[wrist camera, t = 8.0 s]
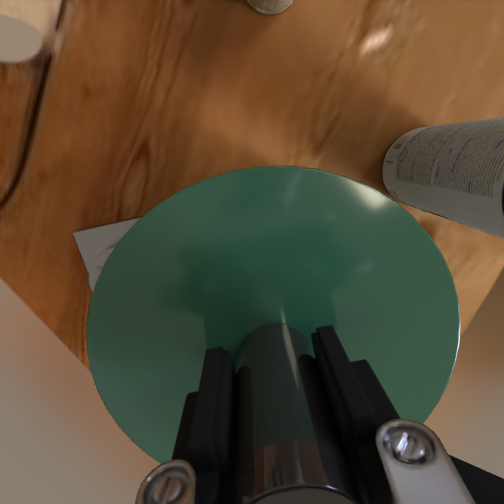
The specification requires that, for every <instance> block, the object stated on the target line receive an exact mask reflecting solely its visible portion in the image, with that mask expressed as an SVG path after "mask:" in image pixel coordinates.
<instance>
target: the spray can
mask: <svg viewBox="0 0 504 504" xmlns="http://www.w3.org/2000/svg"><path fill="white" fill-rule="evenodd" d="M382 173H383V182H384V185H385V186H386V188H387V190H388V191H389V193H390V194H391V195H392V196H393V197H394V198H395V199H396V200H398V201H400V202H401V203H404V204H406V205H409V206H412V207H415V208H417V209H420V210H422V211H425V212H429V213H432V214H435V215H438V216H441V217H443V218H446V219H449V220H452V221H455V222H457V223H460V224H463V225H466V226H469V227H471V228H474V229H477V230H480V231H483V232H485V233H488V234H491V235H494V236H497V237H499V238H502V239H504V117H503V118H494V119H486V120H478V121H470V122H462V123H453V124H446V125H437V126H428V127H421V128H417V129H414V130H411V131H409V132H407V133H405V134H404V135H402V136H401V137H400V138H399V139H397V140H396V141H395V142H394V143H393V144H392V146H391V147H390V148H389V150H388V151H387V153H386V156H385V159H384V163H383V169H382Z"/></svg>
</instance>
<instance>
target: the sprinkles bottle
mask: <svg viewBox="0 0 504 504" xmlns="http://www.w3.org/2000/svg"><path fill="white" fill-rule="evenodd" d="M293 1H294V0H247V2H248V4H249V5H250V6H252V7H253V8H254V9H255V10H257V11H258V12H260V13H263V14H277V13H280V12H283V11H284V10H285V9H286V8H288V7H289V6H290V5H291V4H292V2H293Z"/></svg>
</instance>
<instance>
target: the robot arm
mask: <svg viewBox="0 0 504 504" xmlns="http://www.w3.org/2000/svg"><path fill="white" fill-rule="evenodd" d="M311 338H312V344H313V349H314V355H315V360H316V363H317V366H318V369H319V372H320V375H321V378H322V381H323V384H324V387H325V390H326V393H327V396H328V399H329V402H330V405H331V408H332V411H333V414H334V417H335V420H336V423H337V426H338V429H339V432H340V435H341V438H342V441H343V444H344V447H345V450H346V453H347V456H348V459H349V461H350V464H351V466H352V469H353V472H354V475H355V478H356V481H357V484H358V487H359V490H360V493H361V496H362V499H363V502H364V504H504V479H503V478H501V477H498V476H496V475H494V474H491V473H489V472H487V471H485V470H482V469H480V468H478V467H476V466H473V465H471V464H469V463H467V462H464V461H462V460H460V459H458V458H455V457H453V456H451V455H449V454H448V453H447V451H446V449H445V448H444V446H443V444H442V442H441V441H440V439H439V438H438V436H437V435H436V434H435V433H434V431H432V430H431V429H430V428H428V427H427V426H426V425H424V424H422V423H419V422H417V421H414V420H409V419H401V418H400V417H399V415H398V413H397V411H396V410H395V408H394V406H393V404H392V403H391V401H390V399H389V397H388V396H387V394H386V392H385V390H384V389H383V387H382V385H381V383H380V382H379V380H378V378H377V376H376V375H375V373H374V371H373V369H372V368H371V366H370V364H369V363H368V361H367V360H366V359H363V360H358V361H352V362H350V360H349V358H348V356H347V354H346V352H345V350H344V348H343V346H342V344H341V342H340V340H339V338H338V336H337V334H336V332H335V330H334V328H333V326H332V325H328V326H323V327H318V328H316V332H315V333H311ZM235 393H236V372H235V369H234V365H233V361H232V358H231V354H230V351H229V349H228V350H224V349H223V347H222V346H221V347H216V348H211V349H207V350H206V352H205V358H204V363H203V368H202V373H201V378H200V384H199V389H198V391H195V392H190V393H188V394H187V396H186V399H185V404H184V408H183V412H182V416H181V421H180V425H179V429H178V433H177V438H176V442H175V446H174V450H173V454H172V459H171V460H170V461H167V462H165V463H162V464H160V465H159V466H157V467H156V468H154V469H153V470H152V471H151V472H150V473H149V474H148V475H147V476H146V477H145V479H144V481H143V482H142V483H141V485H140V488H139V490H138V493H137V497H136V502H135V504H231V497H232V471H233V445H234V419H235Z"/></svg>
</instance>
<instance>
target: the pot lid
mask: <svg viewBox="0 0 504 504" xmlns="http://www.w3.org/2000/svg"><path fill="white" fill-rule="evenodd" d="M328 325H332V326H333V328H334V330H335V332H336V334H337V336H338V338H339V340H340V342H341V344H342V346H343V348H344V350H345V352H346V354H347V356H348V358H349V360H350V362H352V361H358V360H363V359H366V360H367V361H368V363H369V364H370V366H371V368H372V369H373V371H374V373H375V375H376V376H377V378H378V380H379V382H380V383H381V385H382V387H383V389H384V390H385V392H386V394H387V396H388V397H389V399H390V401H391V403H392V404H393V406H394V408H395V410H396V411H397V413H398V415H399V417H400V418H401V419H409V420H414V421H417V422H419V423H422V424H423V423H424V422H425V421H426V419H427V418H428V417H429V415H430V414H431V412H432V411H433V409H434V408H435V407H436V405H437V403H438V402H439V400H440V398H441V396H442V394H443V392H444V391H445V388H446V386H447V385H448V382H449V380H450V377H451V374H452V371H453V368H454V365H455V362H456V357H457V352H458V347H459V341H460V311H459V302H458V296H457V293H456V289H455V285H454V281H453V277H452V275H451V273H450V271H449V268H448V266H447V264H446V261H445V259H444V257H443V255H442V253H441V252H440V250H439V249H438V247H437V246H436V244H435V243H434V241H433V239H432V238H431V236H430V235H429V234H428V233H427V232H426V231H425V229H424V228H423V227H422V226H421V225H420V224H419V223H418V222H417V220H416V219H415V218H414V217H413V216H412V215H410V214H409V213H408V212H407V211H406V210H404V209H403V208H402V207H401V206H400V205H398V204H397V203H396V202H395V201H393V200H392V199H390V198H388V197H387V196H385V195H383V194H382V193H380V192H378V191H377V190H375V189H373V188H372V187H370V186H367V185H365V184H362V183H360V182H358V181H355V180H353V179H351V178H348V177H346V176H342V175H338V174H335V173H331V172H327V171H323V170H320V169H315V168H307V167H299V166H290V165H279V166H256V167H250V168H243V169H236V170H232V171H228V172H225V173H221V174H218V175H214V176H211V177H208V178H205V179H203V180H201V181H199V182H196V183H194V184H192V185H190V186H187V187H185V188H183V189H181V190H179V191H178V192H176V193H175V194H173V195H171V196H170V197H168V198H167V199H165V200H163V201H162V202H160V203H159V204H157V205H156V206H155V207H153V208H152V209H151V210H150V211H149V212H147V213H146V214H145V215H144V216H143V217H142V218H140V219H139V220H138V221H137V222H136V223H135V224H134V225H133V226H132V227H131V228H130V229H129V231H128V232H127V233H126V234H125V235H124V236H123V237H122V238H121V240H120V241H119V242H118V244H117V245H116V247H115V248H114V250H113V251H112V253H111V254H110V256H109V257H108V259H107V260H106V262H105V264H104V266H103V268H102V271H101V273H100V275H99V277H98V279H97V281H96V284H95V287H94V291H93V294H92V298H91V301H90V305H89V311H88V320H87V328H86V332H87V353H88V358H89V364H90V369H91V373H92V376H93V379H94V382H95V385H96V388H97V390H98V393H99V395H100V397H101V399H102V401H103V403H104V405H105V406H106V408H107V410H108V412H109V413H110V414H111V416H112V417H113V419H114V420H115V422H116V423H117V425H118V426H119V427H120V428H121V429H122V431H123V432H124V433H125V434H126V435H127V436H128V437H129V438H130V439H131V440H132V442H134V443H135V444H136V445H137V446H138V447H139V448H141V449H142V450H143V451H144V452H145V453H146V454H148V455H149V456H150V457H152V458H153V459H155V460H156V461H158V462H159V463H161V464H162V463H165V462H167V461H170V460H171V459H172V454H173V450H174V446H175V442H176V438H177V433H178V429H179V425H180V421H181V416H182V412H183V408H184V404H185V399H186V396H187V394H188V393H190V392H195V391H198V389H199V384H200V378H201V373H202V368H203V363H204V358H205V352H206V350H207V349H211V348H216V347H221V346H222V347H223V349H224V350H228V349H229V351H230V354H231V358H232V361H233V365H234V369H235V372H236V393H235V419H234V445H233V471H232V497H231V504H364V502H363V499H362V496H361V493H360V490H359V487H358V484H357V481H356V478H355V475H354V472H353V469H352V466H351V464H350V461H349V459H348V456H347V453H346V450H345V447H344V444H343V441H342V438H341V435H340V432H339V429H338V426H337V423H336V420H335V417H334V414H333V411H332V408H331V405H330V402H329V399H328V396H327V393H326V390H325V387H324V384H323V381H322V378H321V375H320V372H319V369H318V366H317V363H316V360H315V355H314V349H313V344H312V338H311V333H315V332H316V328H318V327H323V326H328Z"/></svg>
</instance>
